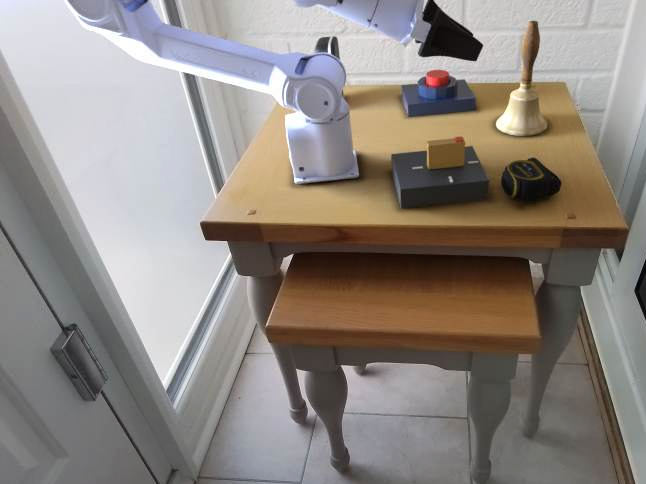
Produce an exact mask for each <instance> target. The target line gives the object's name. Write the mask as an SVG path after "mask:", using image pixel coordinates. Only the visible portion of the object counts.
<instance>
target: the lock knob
mask: <svg viewBox="0 0 646 484" xmlns="http://www.w3.org/2000/svg"><path fill="white" fill-rule="evenodd" d="M465 147H466V139H464V137H463V136H462V135H461V136H455V137H452V138H446V139H445V138H443V139H434V140H426V151H427V167H428V169H438V168H448V167H458V166H464V157H465Z"/></svg>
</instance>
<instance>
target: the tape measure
mask: <svg viewBox="0 0 646 484" xmlns="http://www.w3.org/2000/svg"><path fill="white" fill-rule="evenodd" d="M500 185H501V187H502V190H503V192H504V193H505V194H506V195H507V196H508V197H510V198H511V199H513V200H516V201H520V202H526V203H527V202H528V203H529V202H531V203H533V202H539V201H541V200H544V199H545V198H549V197H552V196H555V195H557V194H558V193H559V192H560V191H561V189H562V180H561V178H560V177H559V176H558V175H557V174H556V173H555V172H553V171H552V170H550V169H549V167H546V166H545V165H544V164H543V163H542V162H541V161H540V160H539V159H538V158H536V157H530V158H527V159H516V160H513V161H511V162H510V163H508V164H507V165H505V167H504V169H503V171H502V173H501V179H500Z"/></svg>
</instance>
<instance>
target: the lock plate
mask: <svg viewBox="0 0 646 484" xmlns="http://www.w3.org/2000/svg"><path fill="white" fill-rule="evenodd" d="M391 172H392V173H391V174H392V177H393V182H394V186H395V189H396V193H397V198H398V202H399V207H400V209H410V208H417V207H418V208H419V207H428V206H438V205H447V204H457V203H465V202H477V201H484V200H485V201H486V200H488V199H489V191H490V178H489V177H488V174H487V172H486V171H485V168H484V166H483V164H482V162H481V161H480V158H479V156H478V155H477V152H476V150H475V148H474V147H473V145H469V146H465V157H464V166H458V167H448V168H438V169H428V167H427V150H417V151H407V152H400V153H399V152H398V153H391Z"/></svg>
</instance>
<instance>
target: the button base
mask: <svg viewBox="0 0 646 484" xmlns="http://www.w3.org/2000/svg"><path fill="white" fill-rule="evenodd" d="M400 93H401V94H400V97H401V100H402V103H403V106H404V108H405V112H406V114H407V117H408V118H409V117H410V118H411V117H420V116H430V115H441V114H451V113H452V114H453V113H460V112H472V111H476V106H477V97H476V96H475V94H474V92H473V90H472V89H471V87H470V86H469V83H468V82H467V80H466V78H464V79H463V78H462V79H457V78H456V77H455V76H452V75H450V74H449V84H447V85H445V86H438V87H435V86H429V85H427V84H426V75H425V76H422V77H420V78H419V79H418V80H417V83H411V84H401V85H400Z"/></svg>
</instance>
